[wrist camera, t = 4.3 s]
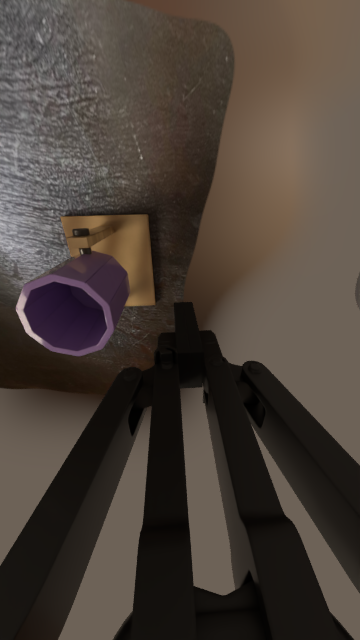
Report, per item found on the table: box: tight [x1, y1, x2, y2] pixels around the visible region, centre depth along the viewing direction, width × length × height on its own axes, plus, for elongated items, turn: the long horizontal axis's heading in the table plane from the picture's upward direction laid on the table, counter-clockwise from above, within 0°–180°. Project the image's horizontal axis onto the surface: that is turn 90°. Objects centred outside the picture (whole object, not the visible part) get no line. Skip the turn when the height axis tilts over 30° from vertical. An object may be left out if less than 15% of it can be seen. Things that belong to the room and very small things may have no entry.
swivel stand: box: [61, 214, 156, 306], centre depth 28 cm, size 12×14×12 cm
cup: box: [16, 247, 130, 356], centre depth 22 cm, size 8×9×9 cm
